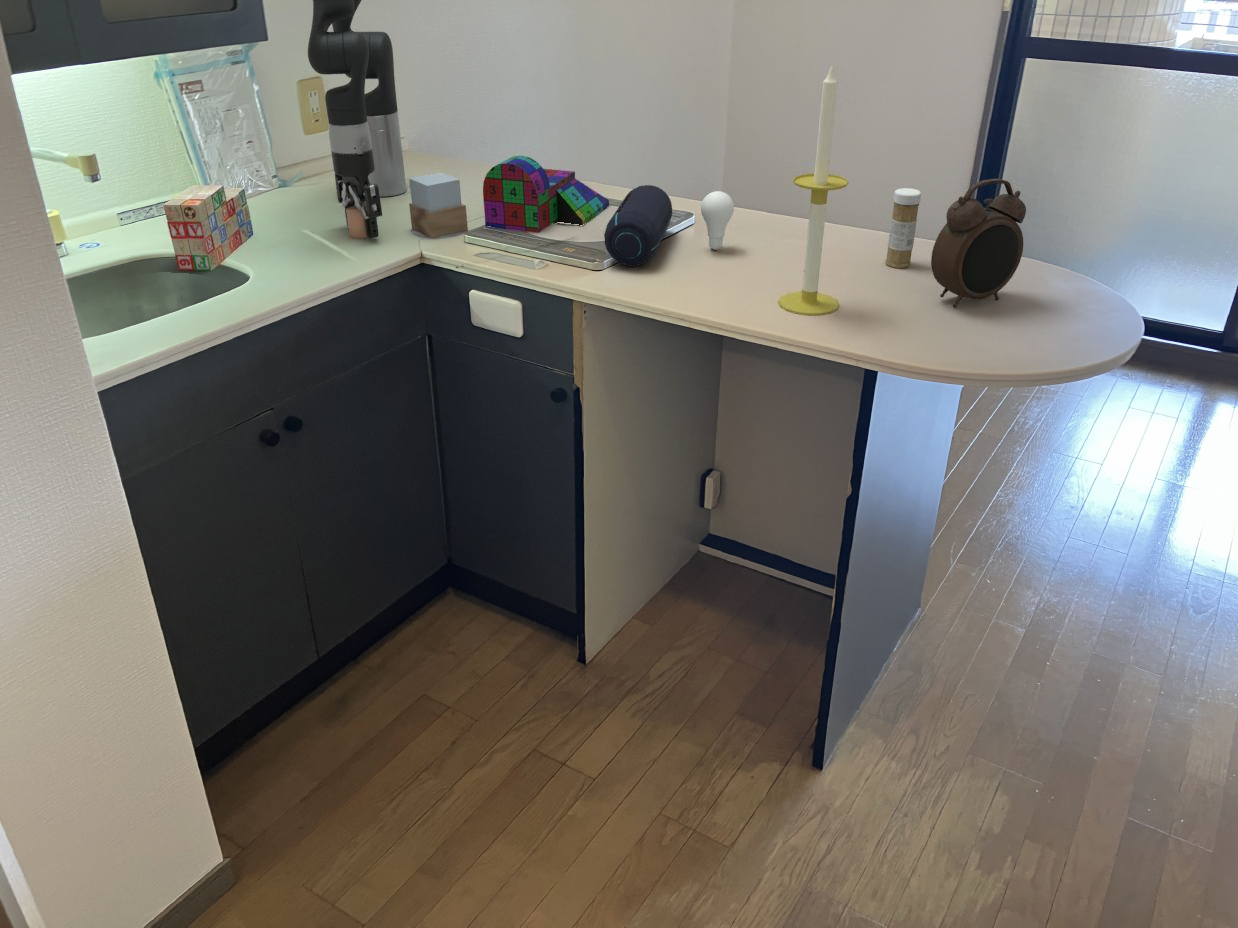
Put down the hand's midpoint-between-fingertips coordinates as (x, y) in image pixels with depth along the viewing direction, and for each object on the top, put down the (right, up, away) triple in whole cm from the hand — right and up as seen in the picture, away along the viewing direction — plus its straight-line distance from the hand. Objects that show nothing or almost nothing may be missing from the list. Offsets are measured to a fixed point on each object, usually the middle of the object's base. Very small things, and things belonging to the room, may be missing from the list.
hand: (362, 232), depth 196 cm
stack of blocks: (-26, -5, -5) cm, 27 cm away
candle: (+81, -19, -29) cm, 89 cm away
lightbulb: (+68, -5, -5) cm, 69 cm away
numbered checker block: (+36, +5, +12) cm, 38 cm away
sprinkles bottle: (+101, -9, -13) cm, 102 cm away
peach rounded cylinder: (0, -1, +1) cm, 2 cm away
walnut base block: (+15, +1, +3) cm, 15 cm away
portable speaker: (+54, -5, -5) cm, 54 cm away
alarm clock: (+109, -18, -29) cm, 114 cm away
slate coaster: (+15, 0, +3) cm, 15 cm away
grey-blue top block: (+14, +5, 0) cm, 15 cm away
